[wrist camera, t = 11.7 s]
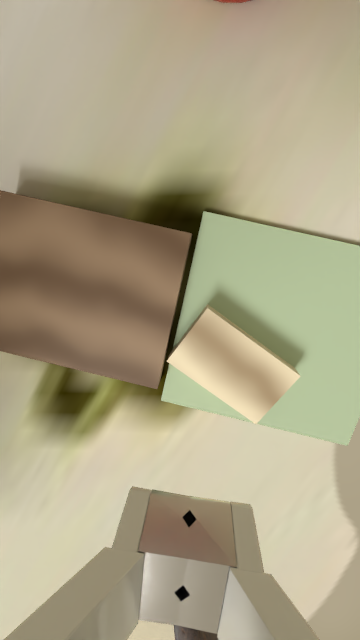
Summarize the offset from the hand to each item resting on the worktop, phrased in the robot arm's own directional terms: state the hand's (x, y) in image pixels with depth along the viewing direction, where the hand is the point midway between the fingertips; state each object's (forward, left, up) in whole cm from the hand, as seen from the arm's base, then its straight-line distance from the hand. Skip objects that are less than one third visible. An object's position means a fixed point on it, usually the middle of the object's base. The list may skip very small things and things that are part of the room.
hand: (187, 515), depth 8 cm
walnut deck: (0, +10, -21) cm, 23 cm away
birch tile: (-3, -4, -21) cm, 21 cm away
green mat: (0, -7, -21) cm, 22 cm away
